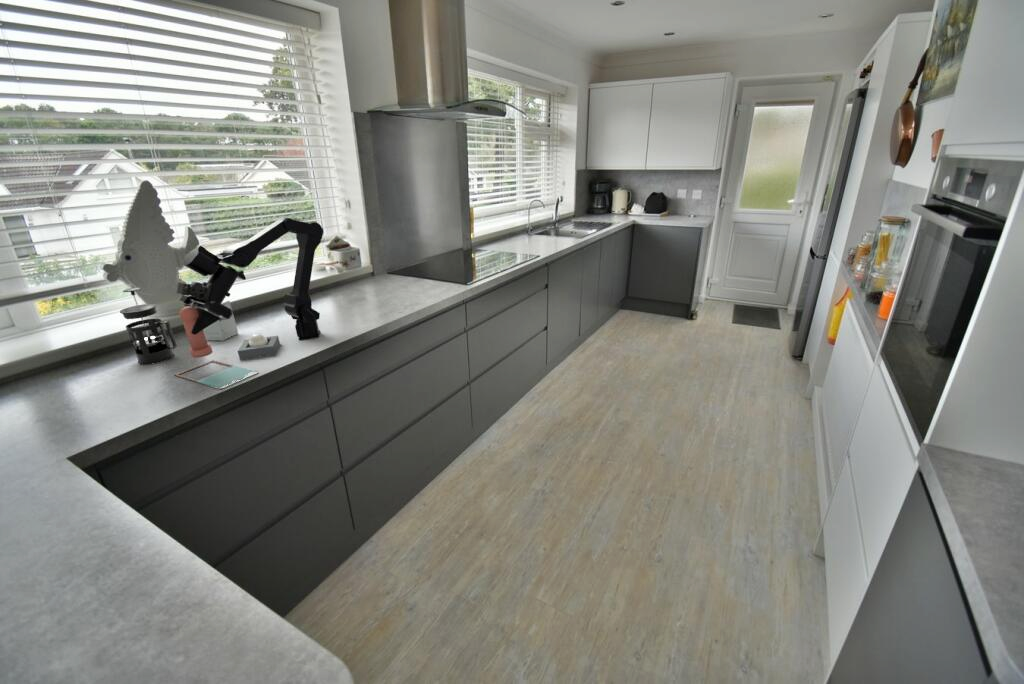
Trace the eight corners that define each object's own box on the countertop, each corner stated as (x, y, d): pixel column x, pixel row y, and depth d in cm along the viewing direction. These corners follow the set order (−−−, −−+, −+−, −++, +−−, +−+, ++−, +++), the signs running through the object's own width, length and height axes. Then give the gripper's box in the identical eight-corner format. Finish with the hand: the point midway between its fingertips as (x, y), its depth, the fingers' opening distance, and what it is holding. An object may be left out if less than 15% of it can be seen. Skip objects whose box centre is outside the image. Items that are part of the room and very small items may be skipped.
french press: (129, 366, 140) (101, 294, 132) (144, 355, 149) (118, 286, 140) (173, 361, 143) (148, 290, 134) (184, 350, 151) (162, 282, 143)
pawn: (214, 349, 135) (200, 302, 129) (210, 355, 130) (195, 308, 125) (194, 352, 133) (178, 305, 128) (189, 358, 129) (173, 310, 123)
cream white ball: (270, 344, 150) (266, 330, 148) (267, 350, 145) (263, 335, 144) (252, 346, 149) (248, 332, 147) (249, 352, 144) (245, 338, 142)
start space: (213, 360, 142) (213, 360, 142) (235, 366, 137) (235, 365, 137) (174, 375, 133) (174, 374, 133) (197, 382, 128) (196, 381, 128)
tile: (234, 367, 137) (234, 365, 137) (258, 373, 132) (257, 371, 132) (197, 382, 128) (196, 380, 128) (220, 389, 123) (220, 388, 123)
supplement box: (223, 341, 158) (213, 306, 153) (205, 340, 159) (194, 305, 155) (239, 333, 165) (230, 299, 160) (222, 332, 166) (212, 299, 161)
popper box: (280, 343, 153) (277, 335, 152) (275, 354, 144) (272, 346, 143) (247, 348, 151) (244, 339, 150) (240, 359, 142) (237, 351, 141)
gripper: (177, 266, 131) (145, 314, 127) (207, 273, 121) (174, 325, 117) (214, 286, 140) (185, 331, 135) (245, 294, 130) (215, 343, 126)
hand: (189, 332), depth 128 cm, fingers closed on pawn, 4 cm apart
